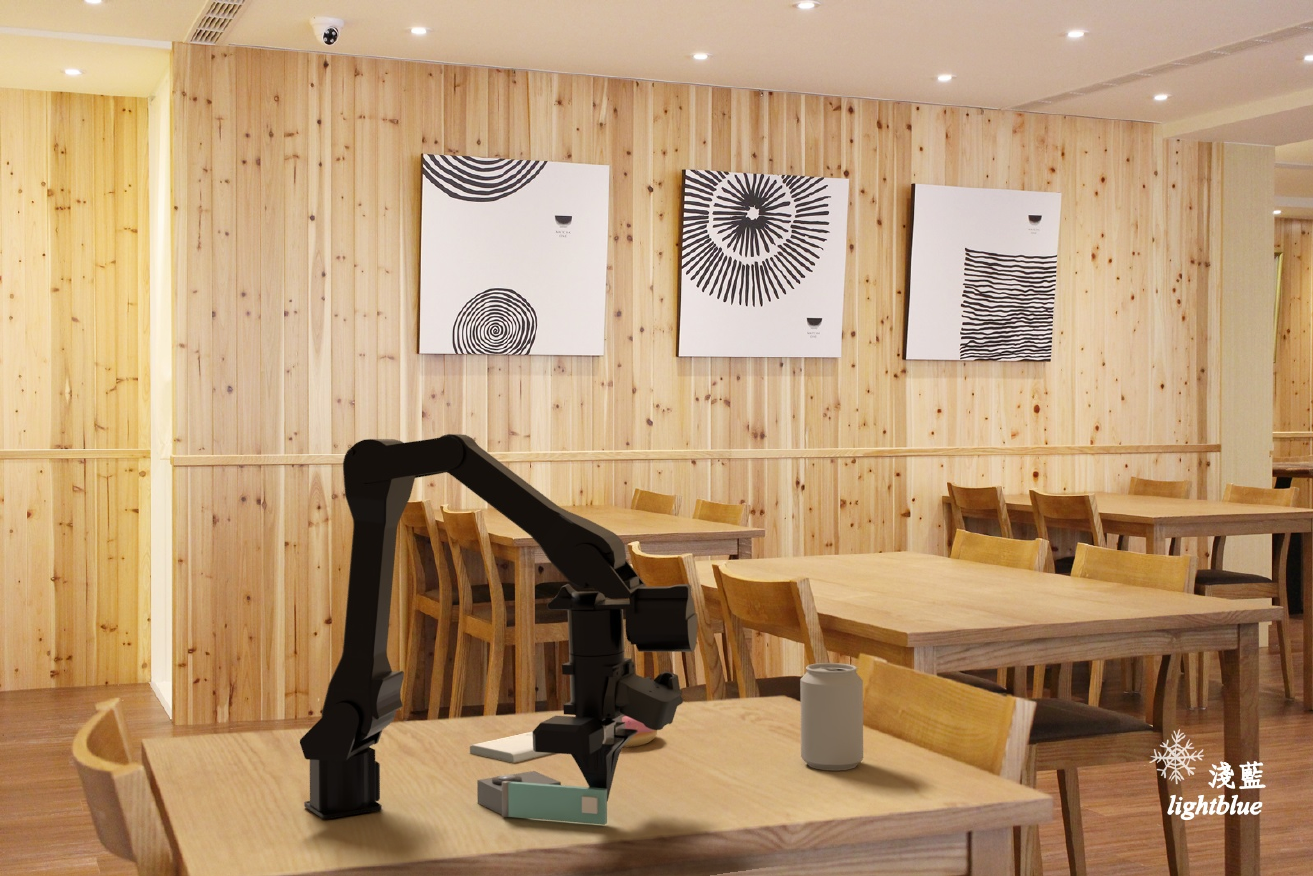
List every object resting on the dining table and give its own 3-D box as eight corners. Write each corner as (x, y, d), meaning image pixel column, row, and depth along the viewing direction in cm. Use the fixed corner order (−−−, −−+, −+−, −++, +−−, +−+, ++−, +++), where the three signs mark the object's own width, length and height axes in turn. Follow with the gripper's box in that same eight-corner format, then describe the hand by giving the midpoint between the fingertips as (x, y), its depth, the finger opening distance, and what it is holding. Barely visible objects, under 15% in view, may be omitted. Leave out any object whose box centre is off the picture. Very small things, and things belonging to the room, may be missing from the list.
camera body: (502, 815, 140) (502, 787, 140) (477, 803, 145) (477, 775, 145) (560, 805, 144) (560, 777, 144) (534, 793, 149) (534, 766, 149)
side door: (499, 817, 139) (498, 783, 139) (504, 814, 140) (504, 780, 140) (603, 826, 135) (602, 791, 135) (607, 822, 137) (607, 788, 137)
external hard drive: (469, 757, 169) (540, 740, 178) (513, 767, 164) (584, 748, 173) (469, 744, 169) (540, 727, 178) (513, 753, 164) (584, 736, 173)
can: (875, 764, 162) (874, 665, 162) (839, 775, 156) (838, 673, 156) (825, 754, 167) (824, 658, 167) (788, 765, 161) (787, 666, 162)
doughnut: (657, 732, 182) (657, 701, 182) (660, 750, 171) (660, 717, 171) (576, 733, 181) (576, 702, 181) (574, 751, 170) (574, 719, 170)
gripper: (631, 671, 126) (637, 836, 126) (701, 639, 143) (706, 784, 143) (527, 667, 130) (533, 826, 130) (607, 636, 147) (612, 777, 148)
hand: (602, 802), depth 138 cm, fingers closed
